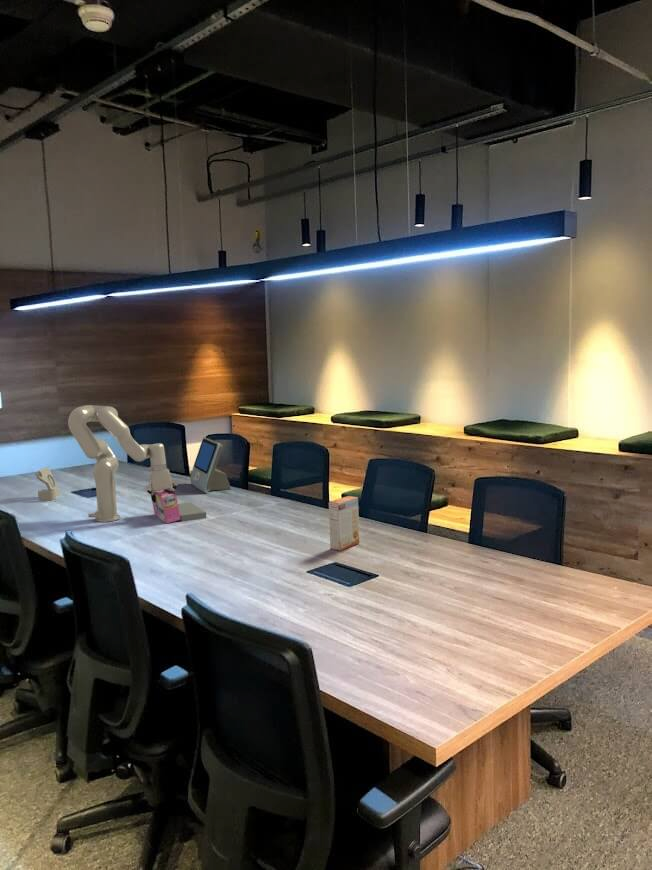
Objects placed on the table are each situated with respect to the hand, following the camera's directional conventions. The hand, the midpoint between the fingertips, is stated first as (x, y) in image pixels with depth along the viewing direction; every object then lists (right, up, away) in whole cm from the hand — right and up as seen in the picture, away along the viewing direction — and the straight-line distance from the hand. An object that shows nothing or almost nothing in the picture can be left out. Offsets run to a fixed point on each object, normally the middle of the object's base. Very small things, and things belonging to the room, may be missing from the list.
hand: (163, 500), depth 368 cm
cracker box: (+92, -15, -58) cm, 109 cm away
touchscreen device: (+12, +1, +76) cm, 77 cm away
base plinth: (+10, -8, +8) cm, 15 cm away
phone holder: (-79, -4, +55) cm, 96 cm away
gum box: (+2, -9, +1) cm, 9 cm away
